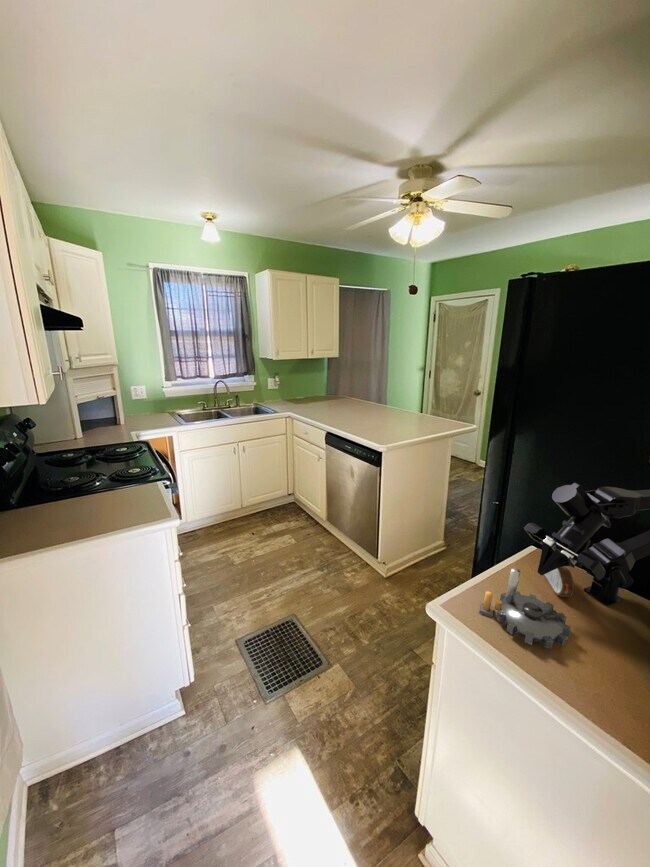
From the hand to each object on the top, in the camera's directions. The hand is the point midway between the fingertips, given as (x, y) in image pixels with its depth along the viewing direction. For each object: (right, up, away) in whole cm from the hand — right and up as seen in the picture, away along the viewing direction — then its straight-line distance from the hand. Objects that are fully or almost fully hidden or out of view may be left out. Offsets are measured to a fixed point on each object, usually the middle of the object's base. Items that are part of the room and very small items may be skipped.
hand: (539, 573), depth 89 cm
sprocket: (-5, -9, -4) cm, 12 cm away
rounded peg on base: (-13, -9, 0) cm, 16 cm away
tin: (+10, -7, +11) cm, 16 cm away
